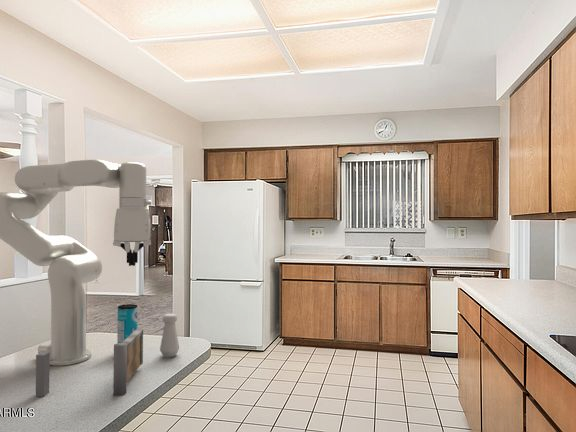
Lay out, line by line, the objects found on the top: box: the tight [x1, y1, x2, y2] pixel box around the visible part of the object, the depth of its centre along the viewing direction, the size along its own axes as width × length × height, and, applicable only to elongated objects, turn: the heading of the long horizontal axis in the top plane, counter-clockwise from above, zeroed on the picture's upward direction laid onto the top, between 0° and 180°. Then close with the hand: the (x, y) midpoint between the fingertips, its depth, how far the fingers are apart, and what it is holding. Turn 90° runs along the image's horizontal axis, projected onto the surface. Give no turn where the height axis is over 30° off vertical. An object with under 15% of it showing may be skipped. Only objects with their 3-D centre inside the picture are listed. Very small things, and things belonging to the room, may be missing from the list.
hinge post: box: [113, 343, 128, 397], centre depth 103 cm, size 3×3×12 cm
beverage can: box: [116, 303, 138, 344], centre depth 134 cm, size 6×6×15 cm
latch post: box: [35, 352, 50, 398], centre depth 102 cm, size 2×2×10 cm
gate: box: [122, 328, 144, 382], centre depth 113 cm, size 15×2×10 cm, turn 4°
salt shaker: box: [159, 313, 180, 359], centre depth 132 cm, size 6×6×13 cm
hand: (132, 265), depth 125 cm, fingers closed
